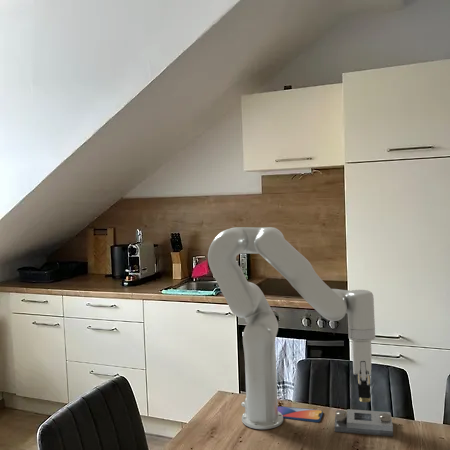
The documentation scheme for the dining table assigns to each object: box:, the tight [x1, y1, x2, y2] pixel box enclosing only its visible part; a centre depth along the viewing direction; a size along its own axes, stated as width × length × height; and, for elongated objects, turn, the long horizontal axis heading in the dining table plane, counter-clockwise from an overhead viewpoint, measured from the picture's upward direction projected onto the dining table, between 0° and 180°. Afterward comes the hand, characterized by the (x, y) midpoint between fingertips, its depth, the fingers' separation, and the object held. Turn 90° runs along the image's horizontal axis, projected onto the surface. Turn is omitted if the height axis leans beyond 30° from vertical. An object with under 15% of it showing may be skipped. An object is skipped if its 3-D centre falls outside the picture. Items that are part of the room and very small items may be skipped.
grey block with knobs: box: [334, 408, 394, 437], centre depth 145 cm, size 16×9×4 cm, turn 75°
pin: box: [357, 365, 371, 403], centre depth 144 cm, size 3×3×10 cm
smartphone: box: [278, 405, 324, 423], centre depth 154 cm, size 7×15×1 cm, turn 70°
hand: (364, 394), depth 144 cm, fingers closed on pin, 3 cm apart
